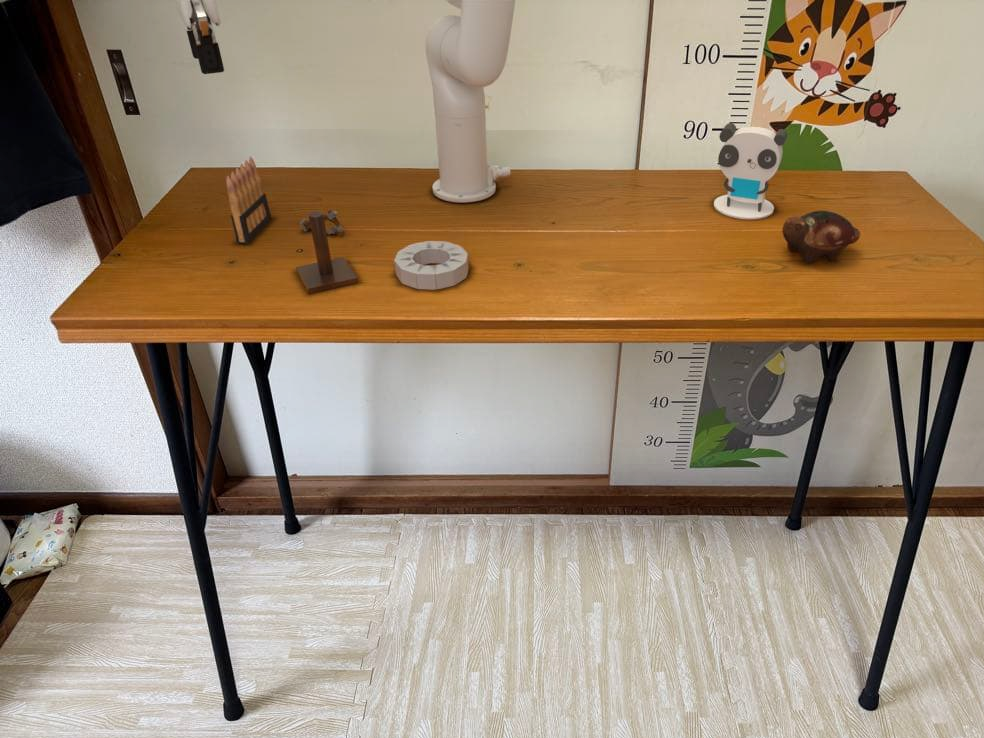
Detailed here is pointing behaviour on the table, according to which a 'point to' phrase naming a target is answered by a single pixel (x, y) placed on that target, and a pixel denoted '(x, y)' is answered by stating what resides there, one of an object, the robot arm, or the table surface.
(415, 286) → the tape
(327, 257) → the stand
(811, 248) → the decorative turtle
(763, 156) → the panda figurine
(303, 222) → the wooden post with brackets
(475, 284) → the table surface
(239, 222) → the ammunition clip
